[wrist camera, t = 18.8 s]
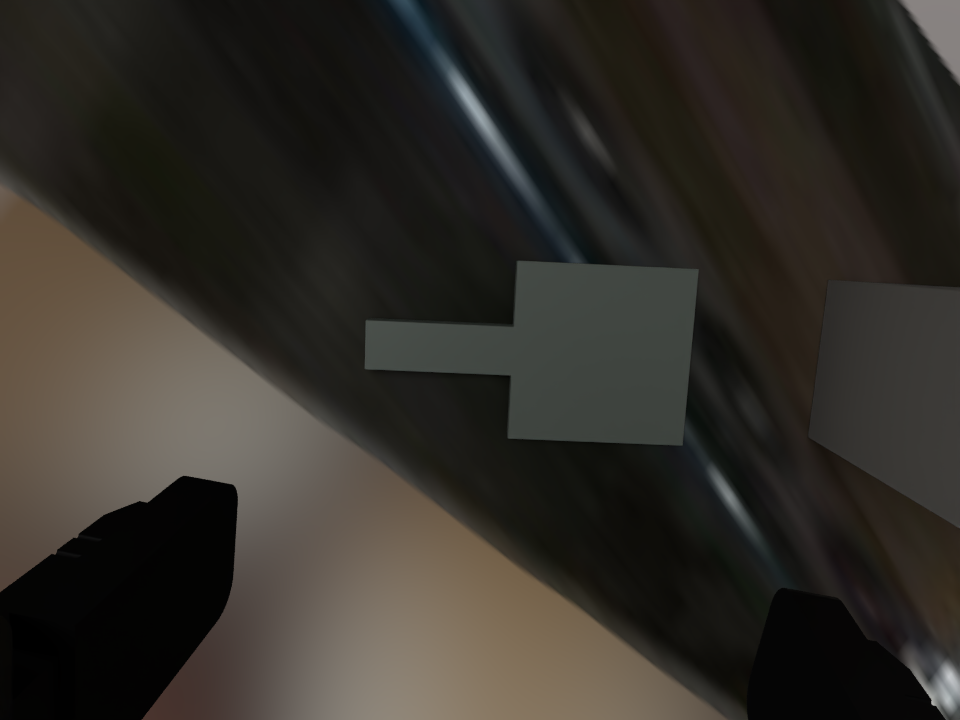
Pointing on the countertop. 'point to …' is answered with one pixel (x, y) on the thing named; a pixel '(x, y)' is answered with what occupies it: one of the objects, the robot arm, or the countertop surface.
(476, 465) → the countertop surface
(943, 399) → the dark grey block
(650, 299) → the lid
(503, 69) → the countertop surface
